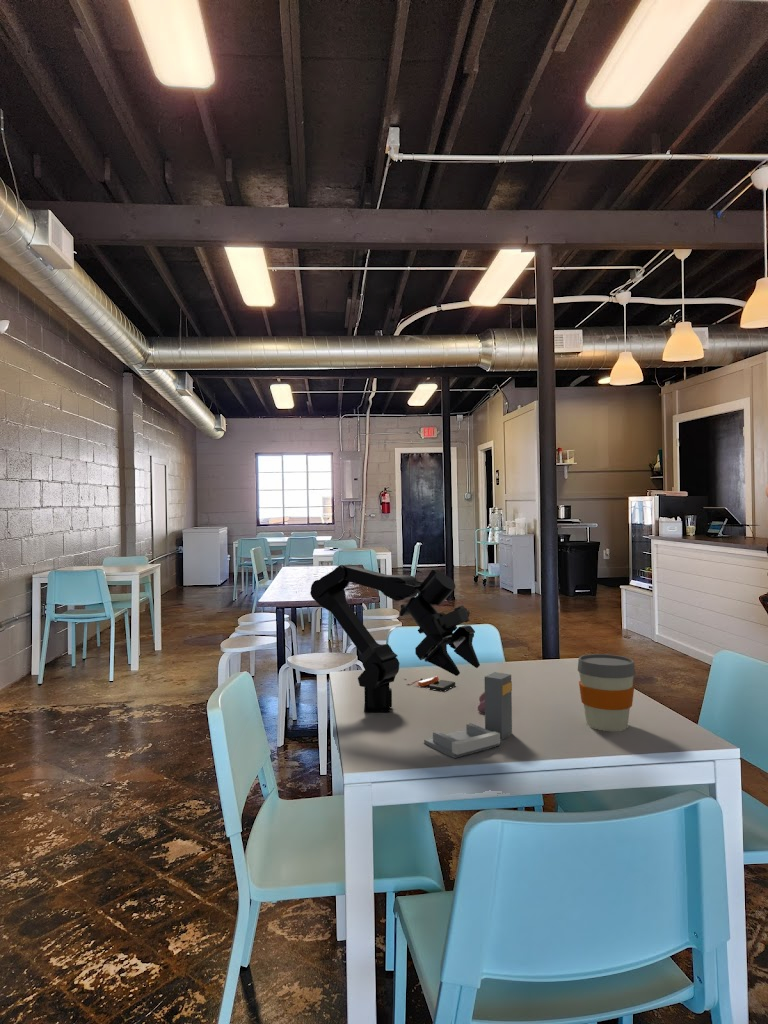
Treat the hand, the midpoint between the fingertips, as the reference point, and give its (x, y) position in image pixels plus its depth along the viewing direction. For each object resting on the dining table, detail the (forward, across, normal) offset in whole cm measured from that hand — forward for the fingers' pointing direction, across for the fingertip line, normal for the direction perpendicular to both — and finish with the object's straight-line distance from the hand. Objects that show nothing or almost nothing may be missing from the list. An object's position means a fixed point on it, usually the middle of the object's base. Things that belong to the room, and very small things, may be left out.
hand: (468, 670), depth 142 cm
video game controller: (+7, +17, +12) cm, 22 cm away
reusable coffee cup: (+27, +20, -8) cm, 35 cm away
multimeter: (-12, +25, +31) cm, 41 cm away
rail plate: (+12, -10, +7) cm, 17 cm away
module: (+14, 0, +4) cm, 15 cm away
